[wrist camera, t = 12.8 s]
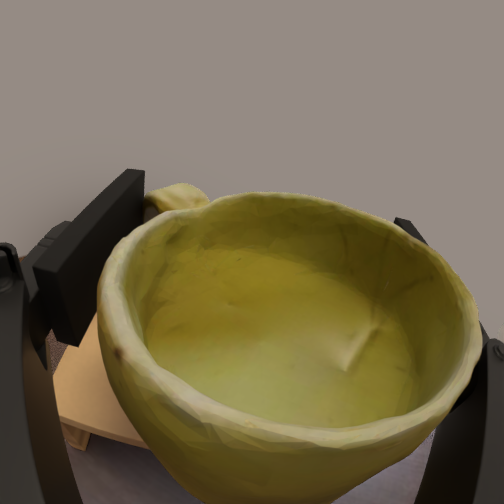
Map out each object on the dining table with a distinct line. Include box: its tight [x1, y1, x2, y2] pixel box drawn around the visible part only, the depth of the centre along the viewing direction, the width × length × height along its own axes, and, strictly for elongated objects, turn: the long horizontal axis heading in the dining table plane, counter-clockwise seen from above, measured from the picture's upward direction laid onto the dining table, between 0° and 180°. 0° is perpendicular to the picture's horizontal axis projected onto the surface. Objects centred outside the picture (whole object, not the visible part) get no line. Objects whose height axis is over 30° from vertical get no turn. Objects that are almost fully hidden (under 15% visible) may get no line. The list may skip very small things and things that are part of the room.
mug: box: [97, 183, 483, 504], centre depth 10 cm, size 12×10×10 cm
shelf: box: [53, 312, 149, 451], centre depth 21 cm, size 14×12×7 cm
